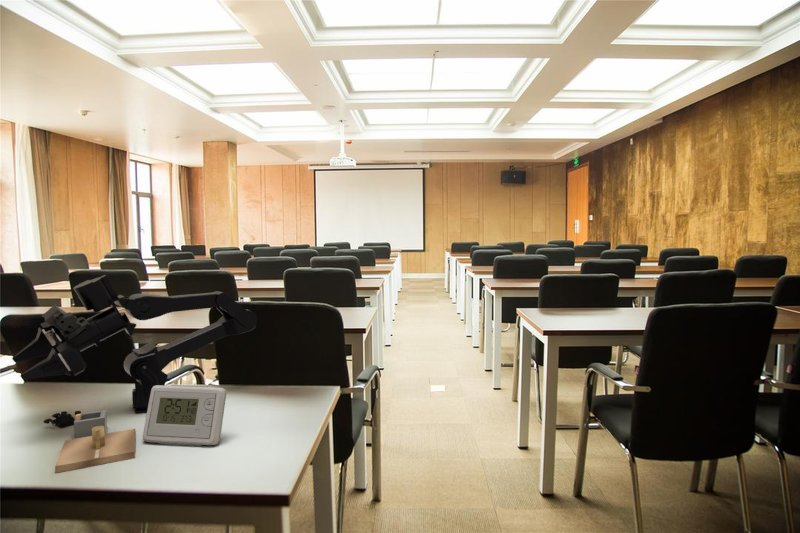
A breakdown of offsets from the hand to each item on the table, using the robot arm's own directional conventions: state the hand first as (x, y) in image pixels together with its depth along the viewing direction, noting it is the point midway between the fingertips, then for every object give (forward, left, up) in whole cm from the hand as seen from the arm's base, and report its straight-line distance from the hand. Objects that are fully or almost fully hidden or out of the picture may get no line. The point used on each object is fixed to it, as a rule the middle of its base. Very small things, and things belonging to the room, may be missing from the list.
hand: (17, 368), depth 97 cm
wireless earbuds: (-7, -3, -14) cm, 16 cm away
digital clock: (-30, +19, -14) cm, 38 cm away
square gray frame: (-13, +6, -14) cm, 20 cm away
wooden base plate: (-15, +16, -14) cm, 26 cm away
